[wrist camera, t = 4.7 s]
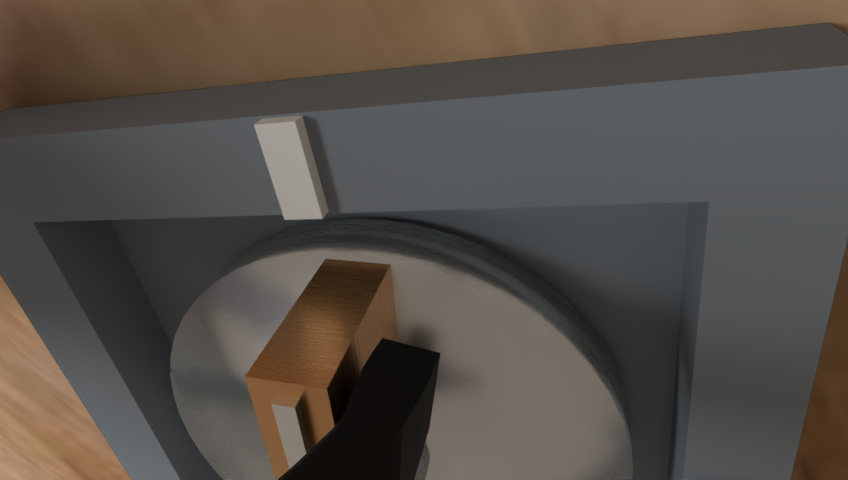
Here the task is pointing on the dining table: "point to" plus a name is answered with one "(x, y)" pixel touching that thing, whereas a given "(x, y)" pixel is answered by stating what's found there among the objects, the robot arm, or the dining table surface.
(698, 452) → the slate tray
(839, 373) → the dining table surface
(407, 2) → the dining table surface
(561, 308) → the dial
